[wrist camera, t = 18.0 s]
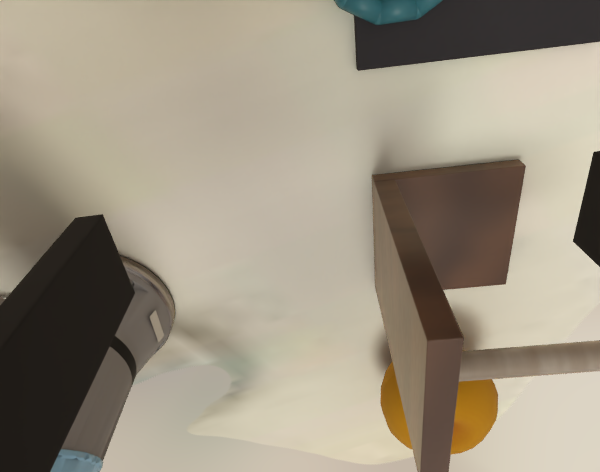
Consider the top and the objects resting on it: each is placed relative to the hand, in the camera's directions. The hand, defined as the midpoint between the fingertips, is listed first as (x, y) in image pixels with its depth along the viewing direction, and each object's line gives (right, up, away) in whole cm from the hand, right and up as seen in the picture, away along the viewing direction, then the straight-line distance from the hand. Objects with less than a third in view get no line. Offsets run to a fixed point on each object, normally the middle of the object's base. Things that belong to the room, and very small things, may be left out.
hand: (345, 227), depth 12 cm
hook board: (+13, 0, +34) cm, 36 cm away
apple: (+15, -16, +44) cm, 49 cm away
